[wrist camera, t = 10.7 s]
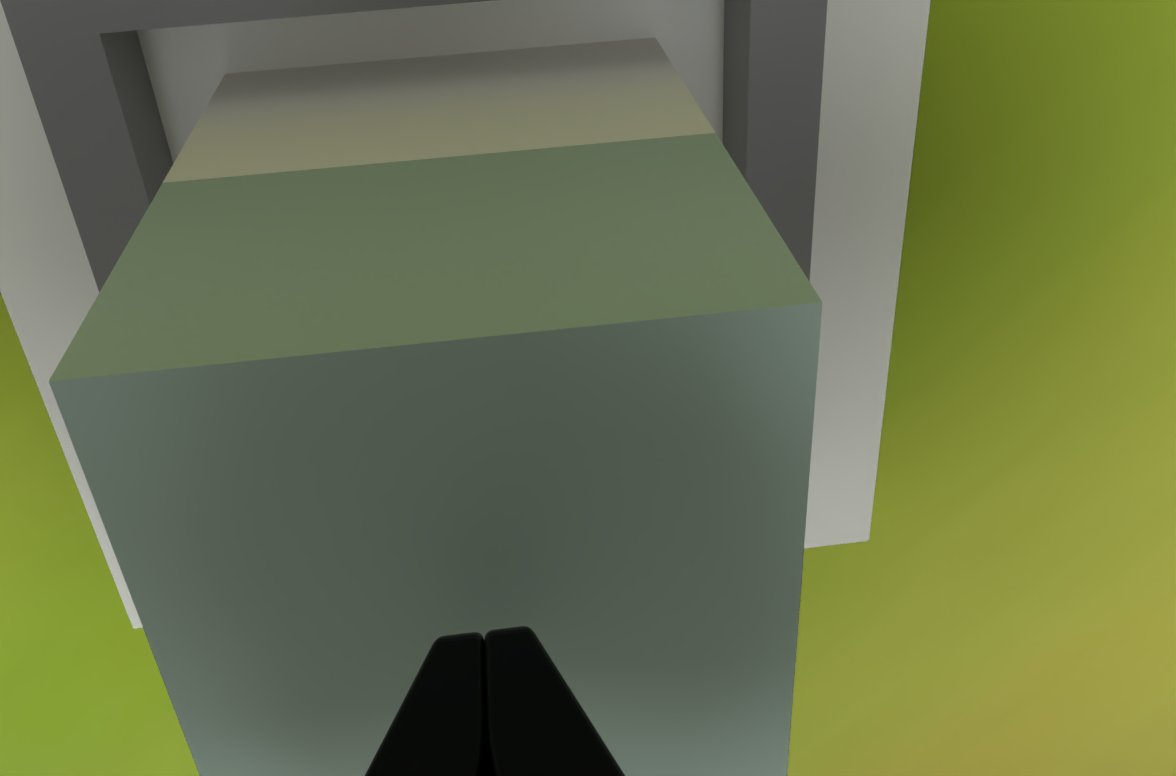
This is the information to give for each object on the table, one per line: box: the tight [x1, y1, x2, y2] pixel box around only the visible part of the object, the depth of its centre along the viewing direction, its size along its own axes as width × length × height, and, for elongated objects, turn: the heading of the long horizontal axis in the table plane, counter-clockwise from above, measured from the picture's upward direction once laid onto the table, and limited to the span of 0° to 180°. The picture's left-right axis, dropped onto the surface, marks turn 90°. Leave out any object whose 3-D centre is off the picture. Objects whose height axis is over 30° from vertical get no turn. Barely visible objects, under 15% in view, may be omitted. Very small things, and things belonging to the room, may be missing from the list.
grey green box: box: [49, 38, 822, 776], centre depth 13 cm, size 6×6×8 cm
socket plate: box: [0, 0, 930, 629], centre depth 17 cm, size 14×14×3 cm
